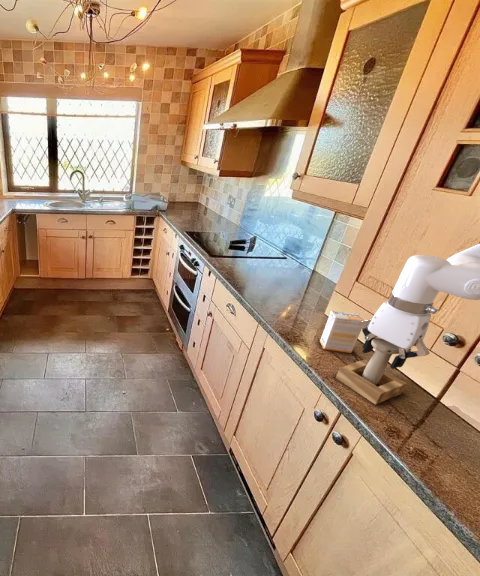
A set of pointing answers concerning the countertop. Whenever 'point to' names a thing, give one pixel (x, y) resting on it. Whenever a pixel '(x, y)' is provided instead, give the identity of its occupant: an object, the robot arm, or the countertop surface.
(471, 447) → the countertop surface
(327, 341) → the supplement box
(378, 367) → the handle
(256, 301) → the countertop surface
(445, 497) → the countertop surface
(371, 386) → the socket block
